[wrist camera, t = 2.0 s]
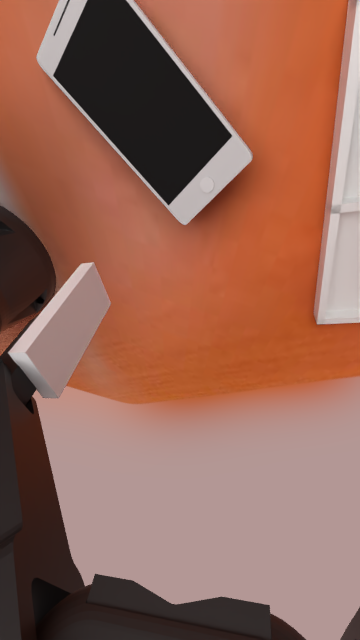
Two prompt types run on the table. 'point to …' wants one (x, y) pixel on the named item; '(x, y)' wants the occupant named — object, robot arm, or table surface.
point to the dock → (343, 194)
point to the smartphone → (143, 101)
